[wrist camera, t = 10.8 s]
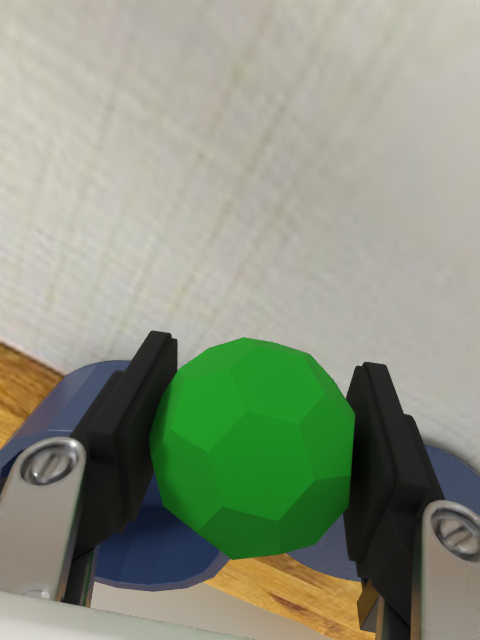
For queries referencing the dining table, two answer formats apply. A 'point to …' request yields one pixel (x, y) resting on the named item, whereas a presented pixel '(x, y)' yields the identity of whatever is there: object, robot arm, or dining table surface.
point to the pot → (153, 518)
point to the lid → (332, 548)
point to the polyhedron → (254, 448)
